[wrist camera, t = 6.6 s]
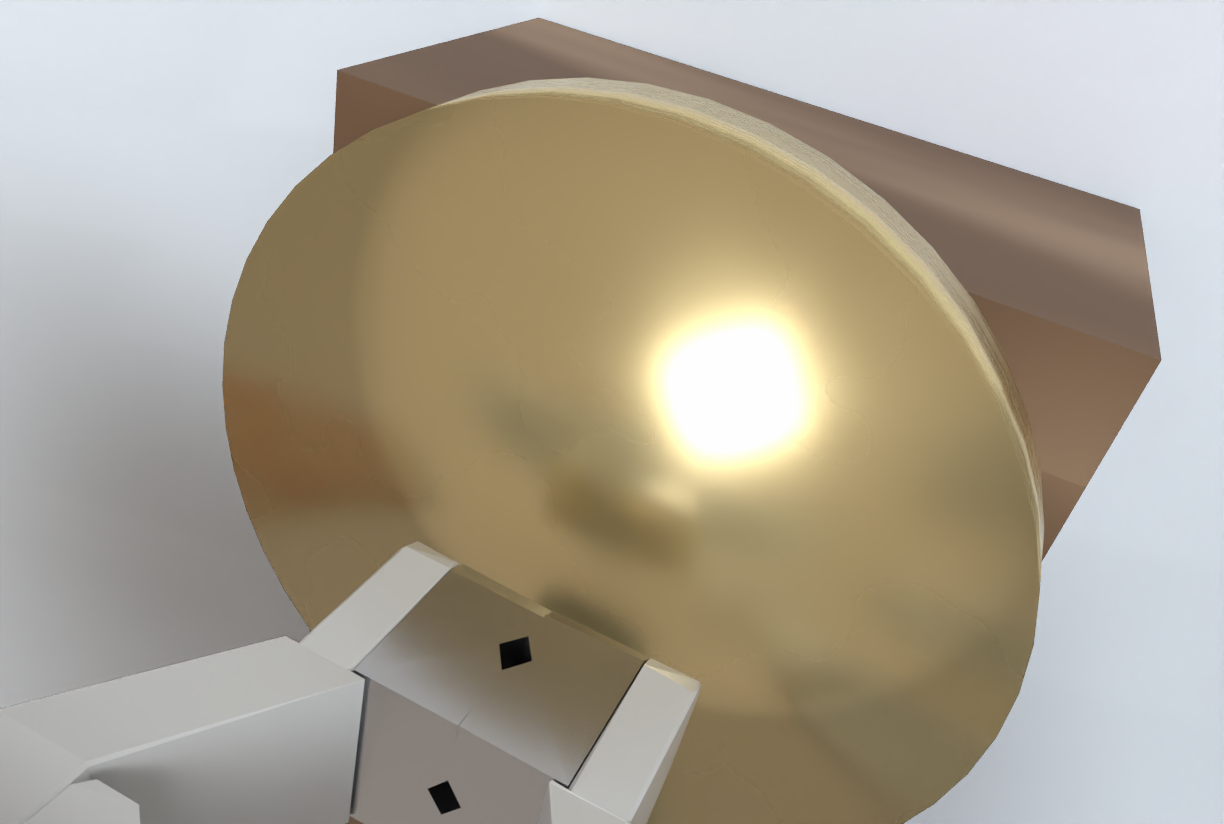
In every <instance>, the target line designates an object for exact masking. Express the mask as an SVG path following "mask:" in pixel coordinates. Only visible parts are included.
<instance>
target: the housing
mask: <svg viewBox="0 0 1224 824" xmlns="http://www.w3.org/2000/svg"><path fill="white" fill-rule="evenodd" d="M587 77H588V78H597V79H607V80H617V81H626V82H636V83H646V84H651V85H655V86H659V87H663V88H667V89H671V90H675V91H679V92H683V93H687V94H691V95H695V96H699V97H703V98H707V99H710V100H713V101H715V102H717V103H720V104H722V105H725V106H727V107H730V108H732V109H735V110H737V111H740V112H742V113H745V114H747V115H750V116H752V117H755V118H757V119H760V120H762V121H765V122H767V123H770V124H772V125H773V126H775V127H777V128H779V129H780V130H782V131H784V132H786V133H787V134H789V135H791V136H793V137H794V138H796V139H798V140H800V141H801V142H803V143H805V144H807V145H808V146H810V147H812V148H814V149H816V150H817V151H819V152H821V153H823V154H824V155H826V156H828V157H830V158H831V159H832V160H833V161H835V162H836V163H837V164H839V165H840V166H841V167H843V168H844V169H845V170H847V171H848V172H849V173H851V174H852V175H853V176H855V177H856V178H857V179H859V180H860V181H861V182H862V183H864V184H865V185H866V186H868V187H869V188H870V189H872V190H873V191H874V192H876V193H877V194H878V195H880V196H881V197H882V198H884V199H885V200H886V201H887V202H888V203H889V204H890V205H891V206H892V207H893V208H894V209H895V210H896V211H897V212H898V213H899V214H900V215H901V216H902V217H903V218H904V219H905V220H906V221H907V222H908V223H909V224H910V225H911V226H912V227H913V228H914V229H915V230H916V231H917V232H918V233H919V234H920V235H921V236H922V237H923V238H924V239H925V240H926V241H927V242H928V243H929V244H930V245H931V246H932V247H933V248H934V249H935V251H936V252H937V253H938V255H939V256H940V257H941V259H942V260H943V261H944V262H945V264H946V265H947V266H948V268H949V269H950V270H951V272H952V273H953V274H954V276H955V277H956V278H957V279H958V281H959V282H960V283H961V285H962V286H963V287H964V289H965V290H966V291H967V292H968V294H969V295H970V296H971V298H972V299H973V300H974V302H975V304H976V305H977V307H978V309H979V311H980V313H981V314H982V316H983V318H984V320H985V321H986V323H987V325H988V327H989V328H990V330H991V332H992V334H993V335H994V337H995V339H996V341H997V342H998V344H999V346H1000V348H1001V350H1002V351H1003V353H1004V355H1005V357H1006V359H1007V362H1008V364H1009V367H1010V369H1011V372H1012V374H1013V377H1014V380H1015V382H1016V385H1017V387H1018V390H1019V392H1020V395H1021V397H1022V400H1023V403H1024V405H1025V408H1026V410H1027V413H1028V416H1029V421H1030V425H1031V429H1032V434H1033V438H1034V443H1035V447H1036V452H1037V456H1038V461H1039V465H1040V470H1041V481H1042V498H1043V515H1044V537H1043V551H1042V560H1043V559H1044V557H1045V555H1046V554H1047V552H1048V550H1049V549H1050V547H1051V545H1052V544H1053V542H1054V540H1055V538H1056V537H1057V535H1058V533H1059V532H1060V530H1061V528H1062V527H1063V525H1064V523H1065V522H1066V520H1067V518H1068V517H1069V515H1070V513H1071V511H1072V510H1073V508H1074V506H1075V505H1076V503H1077V501H1078V500H1079V498H1080V496H1081V495H1082V493H1083V491H1084V490H1085V488H1086V486H1087V485H1088V483H1089V481H1090V479H1091V478H1092V476H1093V474H1094V473H1095V471H1096V469H1097V468H1098V466H1099V464H1100V463H1101V461H1102V459H1103V458H1104V456H1105V454H1106V452H1107V451H1108V449H1109V447H1110V446H1111V444H1112V442H1113V441H1114V439H1115V437H1116V436H1117V434H1118V432H1119V431H1120V429H1121V427H1122V425H1123V424H1124V422H1125V420H1126V419H1127V417H1128V415H1129V414H1130V412H1131V410H1132V409H1133V407H1134V405H1135V404H1136V402H1137V400H1138V398H1139V397H1140V395H1141V393H1142V392H1143V390H1144V388H1145V387H1146V385H1147V383H1148V382H1149V380H1150V378H1151V377H1152V375H1153V373H1154V371H1155V370H1156V368H1157V366H1158V365H1159V363H1160V361H1161V354H1160V347H1159V340H1158V333H1157V327H1156V320H1155V313H1154V306H1153V299H1152V292H1151V285H1150V278H1149V271H1148V264H1147V257H1146V250H1145V243H1144V236H1143V229H1142V222H1141V215H1140V209H1137V208H1134V207H1131V206H1128V205H1124V204H1121V203H1118V202H1115V201H1112V200H1109V199H1106V198H1102V197H1099V196H1096V195H1093V194H1090V193H1087V192H1084V191H1080V190H1077V189H1074V188H1071V187H1068V186H1065V185H1062V184H1059V183H1055V182H1052V181H1049V180H1046V179H1043V178H1040V177H1037V176H1033V175H1030V174H1027V173H1024V172H1021V171H1018V170H1015V169H1012V168H1008V167H1005V166H1002V165H999V164H996V163H993V162H990V161H986V160H983V159H980V158H977V157H974V156H971V155H968V154H964V153H961V152H958V151H955V150H952V149H949V148H946V147H943V146H939V145H936V144H933V143H930V142H927V141H924V140H921V139H917V138H914V137H911V136H908V135H905V134H902V133H899V132H895V131H892V130H889V129H886V128H883V127H880V126H877V125H874V124H870V123H867V122H864V121H861V120H858V119H855V118H852V117H848V116H845V115H842V114H839V113H836V112H833V111H830V110H826V109H823V108H820V107H817V106H814V105H811V104H808V103H805V102H801V101H798V100H795V99H792V98H789V97H786V96H783V95H779V94H776V93H773V92H770V91H767V90H764V89H761V88H757V87H754V86H751V85H748V84H745V83H742V82H739V81H736V80H732V79H729V78H726V77H723V76H720V75H717V74H714V73H710V72H707V71H704V70H701V69H698V68H695V67H692V66H688V65H685V64H682V63H679V62H676V61H673V60H670V59H667V58H663V57H660V56H657V55H654V54H651V53H648V52H645V51H641V50H638V49H635V48H632V47H629V46H626V45H623V44H620V43H616V42H613V41H610V40H607V39H604V38H601V37H598V36H594V35H591V34H588V33H585V32H582V31H579V30H576V29H572V28H569V27H566V26H563V25H560V24H557V23H554V22H551V21H547V20H544V19H541V18H536V19H532V20H528V21H525V22H521V23H517V24H513V25H509V26H505V27H501V28H498V29H494V30H490V31H486V32H482V33H478V34H474V35H471V36H467V37H463V38H459V39H455V40H451V41H448V42H444V43H440V44H436V45H432V46H428V47H424V48H421V49H417V50H413V51H409V52H405V53H401V54H397V55H394V56H390V57H386V58H382V59H378V60H374V61H370V62H367V63H363V64H359V65H355V66H351V67H347V68H344V69H340V70H337V88H336V109H335V129H334V150H333V154H334V153H335V152H337V151H339V150H340V149H342V148H343V147H345V146H347V145H348V144H350V143H352V142H353V141H355V140H357V139H358V138H360V137H362V136H363V135H365V134H367V133H368V132H370V131H372V130H374V129H376V128H379V127H381V126H384V125H387V124H389V123H392V122H394V121H397V120H400V119H402V118H405V117H407V116H410V115H413V114H415V113H418V112H420V111H423V110H426V109H429V108H432V107H434V106H437V105H440V104H443V103H446V102H449V101H451V100H454V99H457V98H460V97H463V96H466V95H468V94H471V93H474V92H477V91H481V90H485V89H490V88H495V87H500V86H505V85H510V84H515V83H519V82H524V81H529V80H545V79H566V78H587ZM310 632H311V630H310ZM346 824H364V823H362V822H360V821H358V820H356V819H354V818H353V817H351V816H349V822H348V823H346Z"/></svg>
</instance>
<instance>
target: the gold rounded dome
mask: <svg viewBox="0 0 1224 824" xmlns="http://www.w3.org/2000/svg"><path fill="white" fill-rule="evenodd" d="M222 385H223V398H224V411H225V423H226V431H227V436H228V441H229V446H230V451H231V456H232V461H233V466H234V471H235V474H236V477H237V480H238V484H239V487H240V490H241V493H242V497H243V500H244V503H245V506H246V510H247V512H248V515H249V517H250V519H251V522H252V524H253V527H254V529H255V531H256V534H257V536H258V539H259V541H260V543H261V546H262V548H263V551H264V552H265V554H266V556H267V558H268V560H269V562H270V564H271V566H272V568H273V569H274V571H275V573H276V575H277V577H278V579H279V581H280V583H281V585H282V586H283V588H284V590H285V592H286V593H287V595H288V596H289V598H290V599H291V601H292V602H293V604H294V606H295V607H296V609H297V610H298V612H299V613H300V615H301V616H302V618H303V619H304V621H305V623H306V624H307V626H308V627H309V628H310V630H311V631H312V630H313V629H314V628H315V627H316V626H317V625H318V624H319V623H320V622H322V621H323V620H324V619H325V618H326V617H327V616H328V615H329V614H330V613H331V612H332V611H334V610H335V609H336V608H337V607H338V606H339V605H340V604H341V603H342V602H343V601H344V600H345V599H347V598H348V597H349V596H350V595H351V594H352V593H353V592H354V591H355V590H356V589H357V588H358V587H360V586H361V585H362V584H363V583H364V582H365V581H366V580H367V579H368V578H369V577H370V576H372V575H373V574H374V573H375V572H376V571H377V570H378V569H379V568H380V567H381V566H382V565H383V564H385V563H386V562H387V561H388V560H389V559H390V558H391V557H392V556H393V555H394V554H395V553H396V552H398V551H399V550H400V549H401V548H402V547H405V546H407V545H410V544H412V543H415V542H417V541H418V542H420V543H422V544H424V545H426V546H428V547H430V548H431V549H433V550H435V551H437V552H439V553H441V554H443V555H445V556H447V557H448V558H450V559H452V560H454V561H456V562H458V563H460V564H464V565H466V566H468V567H469V568H471V569H473V570H475V571H477V572H479V573H481V574H483V575H485V576H486V577H488V578H490V579H492V580H494V581H496V582H498V583H500V584H502V585H504V586H505V587H507V588H509V589H511V590H513V591H515V592H517V593H519V594H521V595H522V596H524V597H526V598H528V599H530V600H532V601H534V602H536V603H538V604H539V605H541V606H543V607H545V608H547V609H549V610H551V611H552V612H554V611H555V612H557V613H559V614H561V615H563V616H565V617H567V618H569V619H571V620H574V621H576V622H578V623H580V624H582V625H584V626H586V627H588V628H590V629H592V630H594V631H596V632H598V633H600V634H602V635H605V636H607V637H609V638H611V639H613V640H615V641H617V642H619V643H621V644H623V645H625V646H627V647H629V648H631V649H633V650H636V651H638V652H640V653H642V654H644V655H646V656H648V657H650V658H652V659H654V660H656V661H658V662H660V663H662V664H664V665H666V666H668V667H671V668H673V669H675V670H677V671H679V672H681V673H683V674H685V675H687V676H689V677H691V678H693V679H695V680H697V681H699V682H700V683H701V685H702V686H701V689H700V693H699V696H698V698H697V701H696V704H695V706H694V709H693V711H692V714H691V716H690V719H689V721H688V724H687V727H686V729H685V732H684V734H683V737H682V739H681V742H680V745H679V747H678V750H677V752H676V755H675V757H674V760H673V763H672V765H671V768H670V770H669V772H668V775H667V777H666V779H665V782H664V784H663V786H662V789H661V791H660V793H659V796H658V798H657V800H656V803H655V805H654V808H653V810H652V812H651V815H650V817H649V819H648V822H647V824H903V823H905V822H906V821H908V820H909V819H911V818H913V817H914V816H916V815H917V814H919V813H921V812H922V811H924V810H925V809H927V808H929V807H930V806H932V805H933V804H935V803H936V802H937V801H938V800H939V799H940V798H941V797H942V796H944V795H945V794H946V793H947V792H948V791H949V790H950V789H951V788H953V787H954V786H955V785H956V784H957V783H958V782H959V781H960V780H961V779H963V778H964V777H965V776H966V775H967V774H968V773H969V772H970V770H971V769H972V768H973V767H974V765H975V764H976V763H977V761H978V760H979V759H980V758H981V756H982V755H983V754H984V752H985V751H986V750H987V749H988V747H989V746H990V745H991V743H992V742H993V741H994V740H995V738H996V737H997V735H998V733H999V731H1000V729H1001V727H1002V725H1003V723H1004V722H1005V720H1006V718H1007V716H1008V714H1009V712H1010V710H1011V708H1012V706H1013V704H1014V702H1015V700H1016V698H1017V696H1018V695H1019V692H1020V688H1021V685H1022V682H1023V678H1024V675H1025V672H1026V668H1027V665H1028V662H1029V658H1030V655H1031V652H1032V648H1033V645H1034V637H1035V628H1036V619H1037V610H1038V601H1039V592H1040V579H1041V565H1042V551H1043V537H1044V515H1043V498H1042V481H1041V470H1040V465H1039V461H1038V456H1037V452H1036V447H1035V443H1034V438H1033V434H1032V429H1031V425H1030V421H1029V416H1028V413H1027V410H1026V408H1025V405H1024V403H1023V400H1022V397H1021V395H1020V392H1019V390H1018V387H1017V385H1016V382H1015V380H1014V377H1013V374H1012V372H1011V369H1010V367H1009V364H1008V362H1007V359H1006V357H1005V355H1004V353H1003V351H1002V350H1001V348H1000V346H999V344H998V342H997V341H996V339H995V337H994V335H993V334H992V332H991V330H990V328H989V327H988V325H987V323H986V321H985V320H984V318H983V316H982V314H981V313H980V311H979V309H978V307H977V305H976V304H975V302H974V300H973V299H972V298H971V296H970V295H969V294H968V292H967V291H966V290H965V289H964V287H963V286H962V285H961V283H960V282H959V281H958V279H957V278H956V277H955V276H954V274H953V273H952V272H951V270H950V269H949V268H948V266H947V265H946V264H945V262H944V261H943V260H942V259H941V257H940V256H939V255H938V253H937V252H936V251H935V249H934V248H933V247H932V246H931V245H930V244H929V243H928V242H927V241H926V240H925V239H924V238H923V237H922V236H921V235H920V234H919V233H918V232H917V231H916V230H915V229H914V228H913V227H912V226H911V225H910V224H909V223H908V222H907V221H906V220H905V219H904V218H903V217H902V216H901V215H900V214H899V213H898V212H897V211H896V210H895V209H894V208H893V207H892V206H891V205H890V204H889V203H888V202H887V201H886V200H885V199H884V198H882V197H881V196H880V195H878V194H877V193H876V192H874V191H873V190H872V189H870V188H869V187H868V186H866V185H865V184H864V183H862V182H861V181H860V180H859V179H857V178H856V177H855V176H853V175H852V174H851V173H849V172H848V171H847V170H845V169H844V168H843V167H841V166H840V165H839V164H837V163H836V162H835V161H833V160H832V159H831V158H830V157H828V156H826V155H824V154H823V153H821V152H819V151H817V150H816V149H814V148H812V147H810V146H808V145H807V144H805V143H803V142H801V141H800V140H798V139H796V138H794V137H793V136H791V135H789V134H787V133H786V132H784V131H782V130H780V129H779V128H777V127H775V126H773V125H772V124H770V123H767V122H765V121H762V120H760V119H757V118H755V117H752V116H750V115H747V114H745V113H742V112H740V111H737V110H735V109H732V108H730V107H727V106H725V105H722V104H720V103H717V102H715V101H713V100H710V99H707V98H703V97H699V96H695V95H691V94H687V93H683V92H679V91H675V90H671V89H667V88H663V87H659V86H655V85H651V84H646V83H636V82H626V81H617V80H607V79H597V78H588V77H587V78H566V79H545V80H529V81H524V82H519V83H515V84H510V85H505V86H500V87H495V88H490V89H485V90H481V91H477V92H474V93H471V94H468V95H466V96H463V97H460V98H457V99H454V100H451V101H449V102H446V103H443V104H440V105H437V106H434V107H432V108H429V109H426V110H423V111H420V112H418V113H415V114H413V115H410V116H407V117H405V118H402V119H400V120H397V121H394V122H392V123H389V124H387V125H384V126H381V127H379V128H376V129H374V130H372V131H370V132H368V133H367V134H365V135H363V136H362V137H360V138H358V139H357V140H355V141H353V142H352V143H350V144H348V145H347V146H345V147H343V148H342V149H340V150H339V151H337V152H335V153H334V154H332V155H330V156H329V157H328V158H327V159H326V160H325V161H323V162H322V163H321V164H320V165H319V166H318V167H317V168H315V169H314V170H313V171H312V172H311V173H310V174H309V175H308V176H306V177H305V178H304V179H303V180H302V181H301V182H300V183H298V184H297V185H296V186H295V187H294V189H293V190H292V191H291V192H290V194H289V195H288V196H287V197H286V199H285V200H284V201H283V202H282V204H281V205H280V206H279V207H278V209H277V210H276V211H275V212H274V214H273V215H272V216H271V218H270V219H269V220H268V221H267V223H266V225H265V227H264V229H263V230H262V232H261V234H260V236H259V238H258V240H257V241H256V243H255V245H254V247H253V249H252V251H251V252H250V254H249V256H248V258H247V260H246V263H245V266H244V268H243V271H242V274H241V277H240V280H239V283H238V286H237V288H236V291H235V294H234V297H233V300H232V305H231V310H230V315H229V321H228V326H227V331H226V337H225V342H224V363H223V384H222Z"/></svg>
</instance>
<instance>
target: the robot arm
mask: <svg viewBox="0 0 1224 824" xmlns="http://www.w3.org/2000/svg"><path fill="white" fill-rule="evenodd" d="M701 686H702V685H701V683H700V682H699V681H697V680H695V679H693V678H691V677H689V676H687V675H685V674H683V673H681V672H679V671H677V670H675V669H673V668H671V667H668V666H666V665H664V664H662V663H660V662H658V661H656V660H654V659H652V658H650V657H648V656H646V655H644V654H642V653H640V652H638V651H636V650H633V649H631V648H629V647H627V646H625V645H623V644H621V643H619V642H617V641H615V640H613V639H611V638H609V637H607V636H605V635H602V634H600V633H598V632H596V631H594V630H592V629H590V628H588V627H586V626H584V625H582V624H580V623H578V622H576V621H574V620H571V619H569V618H567V617H565V616H563V615H561V614H559V613H557V612H555V611H554V612H552V611H551V610H549V609H547V608H545V607H543V606H541V605H539V604H538V603H536V602H534V601H532V600H530V599H528V598H526V597H524V596H522V595H521V594H519V593H517V592H515V591H513V590H511V589H509V588H507V587H505V586H504V585H502V584H500V583H498V582H496V581H494V580H492V579H490V578H488V577H486V576H485V575H483V574H481V573H479V572H477V571H475V570H473V569H471V568H469V567H468V566H466V565H464V564H460V563H458V562H456V561H454V560H452V559H450V558H448V557H447V556H445V555H443V554H441V553H439V552H437V551H435V550H433V549H431V548H430V547H428V546H426V545H424V544H422V543H420V542H418V541H417V542H415V543H412V544H410V545H407V546H405V547H402V548H401V549H400V550H399V551H398V552H396V553H395V554H394V555H393V556H392V557H391V558H390V559H389V560H388V561H387V562H386V563H385V564H383V565H382V566H381V567H380V568H379V569H378V570H377V571H376V572H375V573H374V574H373V575H372V576H370V577H369V578H368V579H367V580H366V581H365V582H364V583H363V584H362V585H361V586H360V587H358V588H357V589H356V590H355V591H354V592H353V593H352V594H351V595H350V596H349V597H348V598H347V599H345V600H344V601H343V602H342V603H341V604H340V605H339V606H338V607H337V608H336V609H335V610H334V611H332V612H331V613H330V614H329V615H328V616H327V617H326V618H325V619H324V620H323V621H322V622H320V623H319V624H318V625H317V626H316V627H315V628H314V629H313V630H312V631H311V632H310V633H309V634H307V635H306V636H305V637H304V638H303V639H302V640H301V641H300V642H297V641H295V640H293V639H291V638H289V637H287V636H282V637H278V638H274V639H270V640H266V641H262V642H258V643H254V644H250V645H247V646H243V647H239V648H235V649H231V650H227V651H223V652H219V653H215V654H211V655H208V656H204V657H200V658H196V659H192V660H188V661H184V662H180V663H176V664H172V665H168V666H165V667H161V668H157V669H153V670H149V671H145V672H141V673H137V674H133V675H129V676H126V677H122V678H118V679H114V680H110V681H106V682H102V683H98V684H94V685H90V686H87V687H83V688H79V689H75V690H71V691H67V692H63V693H59V694H55V695H51V696H48V697H44V698H40V699H36V700H32V701H28V702H24V703H20V704H16V705H12V706H9V707H5V708H1V709H0V824H346V823H348V822H349V816H351V817H353V818H354V819H356V820H358V821H360V822H362V823H364V824H647V822H648V819H649V817H650V815H651V812H652V810H653V808H654V805H655V803H656V800H657V798H658V796H659V793H660V791H661V789H662V786H663V784H664V782H665V779H666V777H667V775H668V772H669V770H670V768H671V765H672V763H673V760H674V757H675V755H676V752H677V750H678V747H679V745H680V742H681V739H682V737H683V734H684V732H685V729H686V727H687V724H688V721H689V719H690V716H691V714H692V711H693V709H694V706H695V704H696V701H697V698H698V696H699V693H700V689H701Z"/></svg>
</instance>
